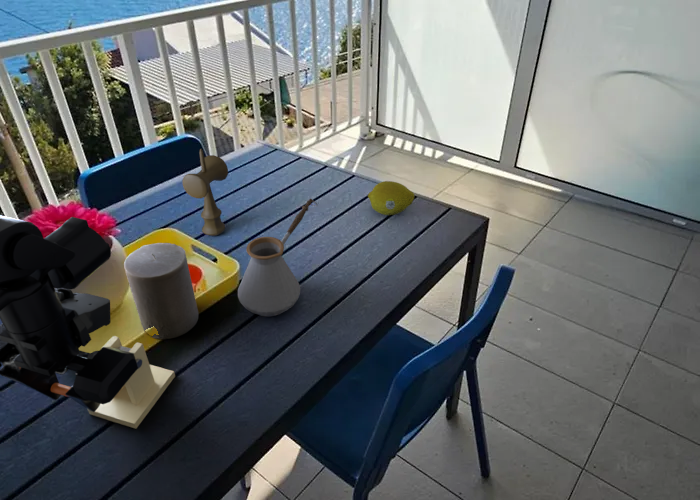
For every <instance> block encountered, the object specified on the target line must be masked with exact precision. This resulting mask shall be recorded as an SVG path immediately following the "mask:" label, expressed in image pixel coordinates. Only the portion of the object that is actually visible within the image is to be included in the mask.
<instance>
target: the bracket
mask: <svg viewBox="0 0 700 500" xmlns="http://www.w3.org/2000/svg"><path fill="white" fill-rule="evenodd" d="M120 346H123V345H122V342H121V339H120V337H119V336H116V335H112V337H110V339H109V340H107V342H106V343H105V344H104V345H103V346H102V347H112V348H116V349H117V348H119V347H120ZM130 348H131V350H130V351H129V352H130V353H134V356H135V359H136V362H137V365H138V369H137V370H136V371H135V373H134V374H133V375H132V376H131V378H130V379H129V380H128V381H127V382H126V384H125V385H124V386H123V387H122V388H121V390H120V391H119V392H118V393H117V394H116V396H115V397H114V398H113V399H112V401H111V402H109V403H106V404H100V406H99V407H98V408H97V410H96V411H95V412H92V411H90V410H89V409H87V408H86V409H87V412H88V414H89V415H91V416H94V417H97V418H101V419H103V420H107V421H110V422H113V423H115V424H120V425H122V426H126V427H128V428H129V427H130V428H133V429H134V430H135V429H136V430H137V429H138V427H139V426H140V425H141V423H142V422H143V421H144V419H145V418H146V416H147V415H148V414H149V412H150V411H151V410H152V408H153V407H154V406H155V404H156V403H157V401H158V400H159V399H160V398H161V396H162V395H163V394H164V392H165V391H166V389H167V388H168V387H169V386H170V384H171V383H172V382H173V380H174V379H175V378H176V373H175V371H174V370H171V369H167V368H163V367H160V366H158V365H157V366H156V365H153V364H150V362H149V359H148V356H147V352H146V349H145V347H144V344H143V343H142V342H141V343H140V342H137V341H136V342H135V344H134V345H133V346H132V347H130Z"/></svg>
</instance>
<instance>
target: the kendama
mask: <svg viewBox="0 0 700 500" xmlns="http://www.w3.org/2000/svg"><path fill="white" fill-rule="evenodd" d="M199 159H200V160H199V162H200V167H201V168H200V171H198V172H197V173H187V174H185V175H184V176H183V178H182V187H183V190H184V192H185V193H186V194H187V195H189V196H190V197H192V198H194V199H203V209H202V211H201V213H200V218H202V219H203V225H202V227H201V233H203V234H204V235H206V236H209V237H210V236H211V237H213V236H214V237H215V236H218V235H219V236H220V235H221V234H222V233H224V232H225V231H226V223H224V222H223V221H222V218H221V216H222V213H223V212H222V209H220V208H219V207H218V205H217V204H216V200H215V198H214V194H213V192H212V188H211V183H212V182H213V181H216V182H222V181H224V180H226V179H227V177H228V176H229V168H228V165H227V163H226V162H225V160H224V159H222V158H221V157H220V156H217V155H214V154H209V155H206V156H205V154H204V151H203V149H202V148H200V149H199Z"/></svg>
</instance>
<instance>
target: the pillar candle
mask: <svg viewBox="0 0 700 500" xmlns="http://www.w3.org/2000/svg"><path fill="white" fill-rule="evenodd" d="M123 266H124V272H125V275H126V278H127V281H128V285H129V287H130V292H131V294H132V298H133V301H134V304H135V308H136V311H137V314H138V317H139V321H140V325H141V327H142V329H143V331H144V332H145V330H146V329H148V328H151V327H153V326H154V327H155V328H156V329H157V331H158V334H159V335H156V334H154V335H153V336H152V337H151V338H152V339H153V338H154V339H158V340H170V339H175V338H179V337H180V336H183V335H185V334H186V333H188V332H189V331H191V330H192V329H193V328H194V327H195V326H196V325H197V323H198V320H199V309H198V304H197V300H196V295H195V291H194V287H193V282H192V278H191V273H190V272H191V271H190V268H189V264H188V258H187V254H186V250H185V249H184V248H183V247H182V246H180V245H177V244H175V243H170V242H157V243H151V244H144V245H142V246H140V248H139V247H138V248H137V249H135V250H133V251H132V252H131V253H129V255H128V256H127V257H126V258H125V260H124V263H123Z"/></svg>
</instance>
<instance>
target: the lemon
mask: <svg viewBox="0 0 700 500" xmlns="http://www.w3.org/2000/svg"><path fill="white" fill-rule="evenodd" d="M367 198H368V199H369V202H370V206H371V207H372V209H373V210H374V211H375V212H377V213H378V214H381V215H383V216H395V215H398V214H401V213H402V212H403V211H405V210H406V209H407V208H408V207H410V206H411V205H412V204H413V202H414V201H415V200H414V199H415V193H414V192H413V191H412V190H410V188H408V187H407V186H406V185H404V184H402V183H399V182H397V181H391V180H385V181H381V182H379V183H377V184H375V186H374V187H373V188H372V190H371V191H370V192H368V194H367Z"/></svg>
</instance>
